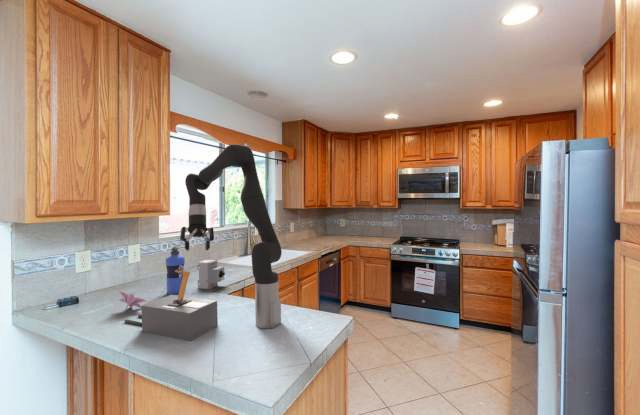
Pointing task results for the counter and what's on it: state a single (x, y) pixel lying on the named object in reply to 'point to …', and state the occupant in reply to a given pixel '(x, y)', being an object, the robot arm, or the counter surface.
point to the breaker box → (178, 317)
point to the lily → (131, 300)
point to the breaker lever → (183, 286)
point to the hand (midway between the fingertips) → (197, 250)
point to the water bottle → (174, 271)
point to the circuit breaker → (209, 274)
